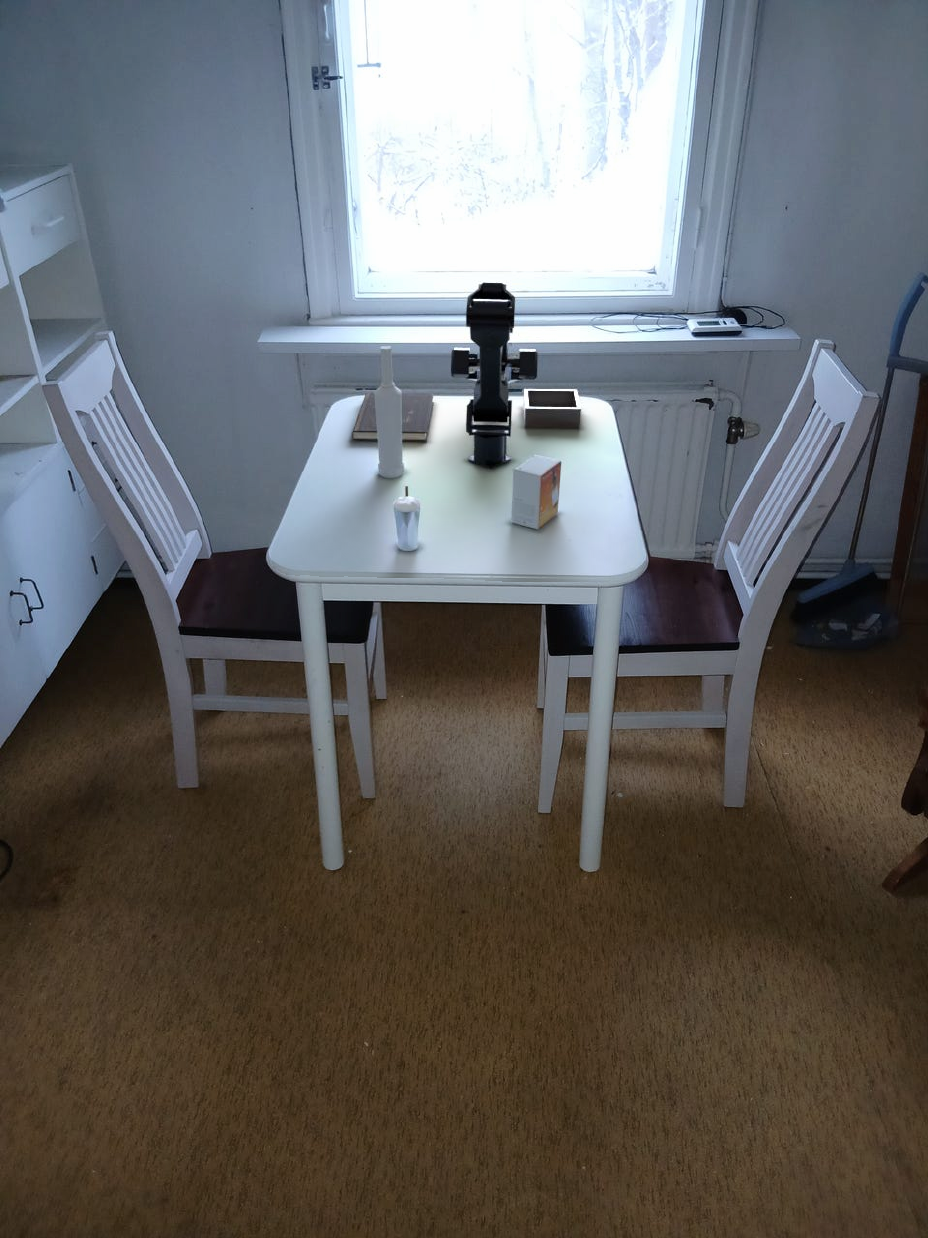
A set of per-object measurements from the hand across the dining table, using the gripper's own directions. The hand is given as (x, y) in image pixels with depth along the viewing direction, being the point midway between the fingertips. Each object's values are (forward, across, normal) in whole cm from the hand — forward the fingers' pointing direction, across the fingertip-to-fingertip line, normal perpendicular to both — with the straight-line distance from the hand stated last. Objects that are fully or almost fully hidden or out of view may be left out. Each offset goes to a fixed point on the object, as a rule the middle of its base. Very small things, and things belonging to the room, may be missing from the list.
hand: (494, 380), depth 207 cm
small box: (-33, -9, +43) cm, 55 cm away
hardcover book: (-1, +22, +11) cm, 25 cm away
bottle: (-21, +20, +30) cm, 42 cm away
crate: (+1, -13, +8) cm, 15 cm away
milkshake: (-41, +13, +51) cm, 67 cm away
